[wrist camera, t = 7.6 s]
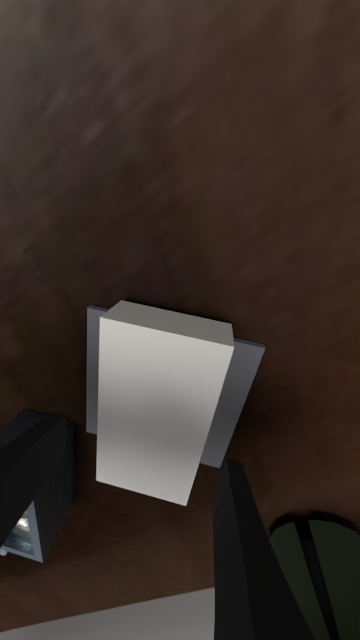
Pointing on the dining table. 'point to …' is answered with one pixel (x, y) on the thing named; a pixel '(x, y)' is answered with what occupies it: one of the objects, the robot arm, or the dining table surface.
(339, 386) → the dining table surface
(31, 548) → the tin
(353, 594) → the character mug
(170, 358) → the lid
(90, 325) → the mat
